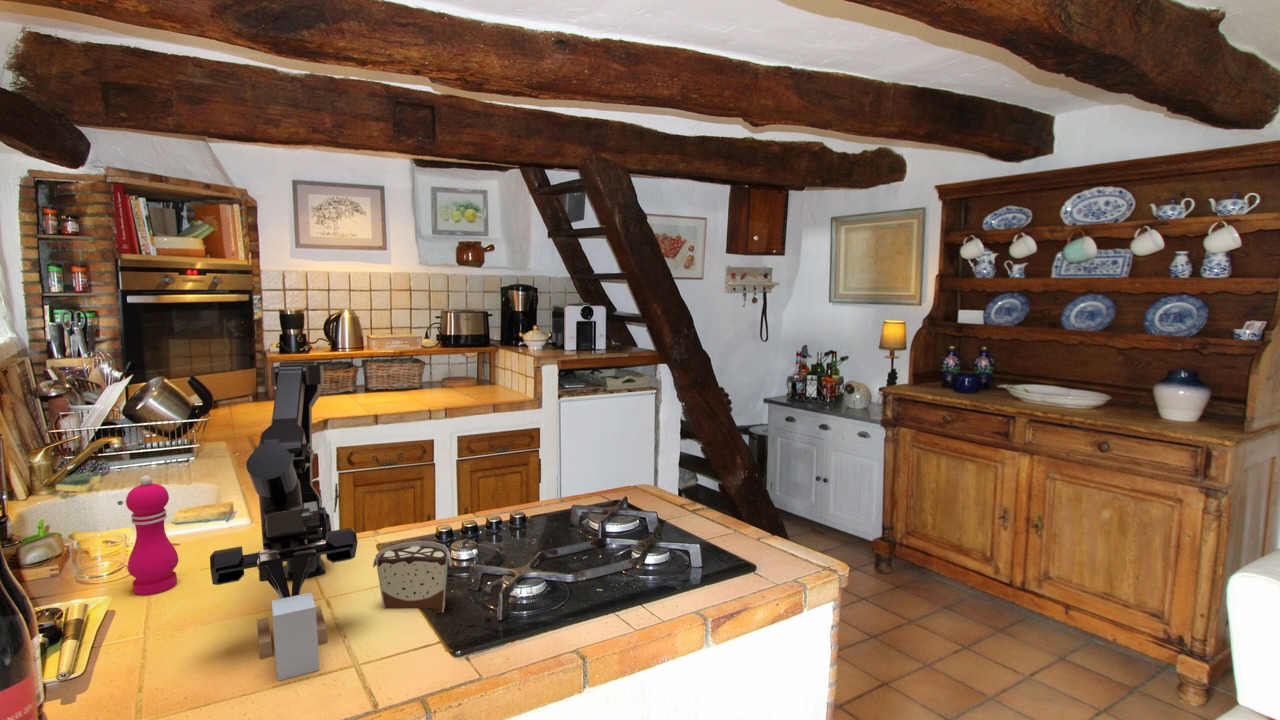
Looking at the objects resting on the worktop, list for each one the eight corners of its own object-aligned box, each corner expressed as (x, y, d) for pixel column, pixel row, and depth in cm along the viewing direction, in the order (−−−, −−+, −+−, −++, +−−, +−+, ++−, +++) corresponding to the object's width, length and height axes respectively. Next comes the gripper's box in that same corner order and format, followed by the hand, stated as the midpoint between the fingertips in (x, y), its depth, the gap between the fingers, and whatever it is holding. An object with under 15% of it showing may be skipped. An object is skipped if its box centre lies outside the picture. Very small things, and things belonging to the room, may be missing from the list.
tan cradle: (258, 639, 104) (256, 619, 104) (321, 625, 109) (320, 605, 108) (262, 691, 92) (261, 668, 91) (334, 672, 96) (332, 650, 95)
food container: (461, 596, 118) (459, 539, 117) (452, 613, 112) (450, 554, 111) (387, 597, 118) (384, 540, 117) (375, 615, 112) (372, 555, 111)
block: (275, 662, 96) (271, 600, 95) (315, 652, 99) (311, 592, 98) (278, 680, 92) (273, 616, 91) (319, 670, 95) (315, 606, 94)
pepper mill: (125, 587, 122) (114, 475, 119) (173, 574, 127) (164, 467, 124) (135, 600, 117) (124, 484, 114) (185, 586, 122) (176, 475, 119)
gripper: (205, 495, 95) (209, 605, 87) (352, 475, 104) (368, 573, 96) (210, 532, 103) (215, 637, 95) (347, 511, 112) (362, 604, 104)
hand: (292, 611), depth 97 cm, fingers closed, pressing on block
